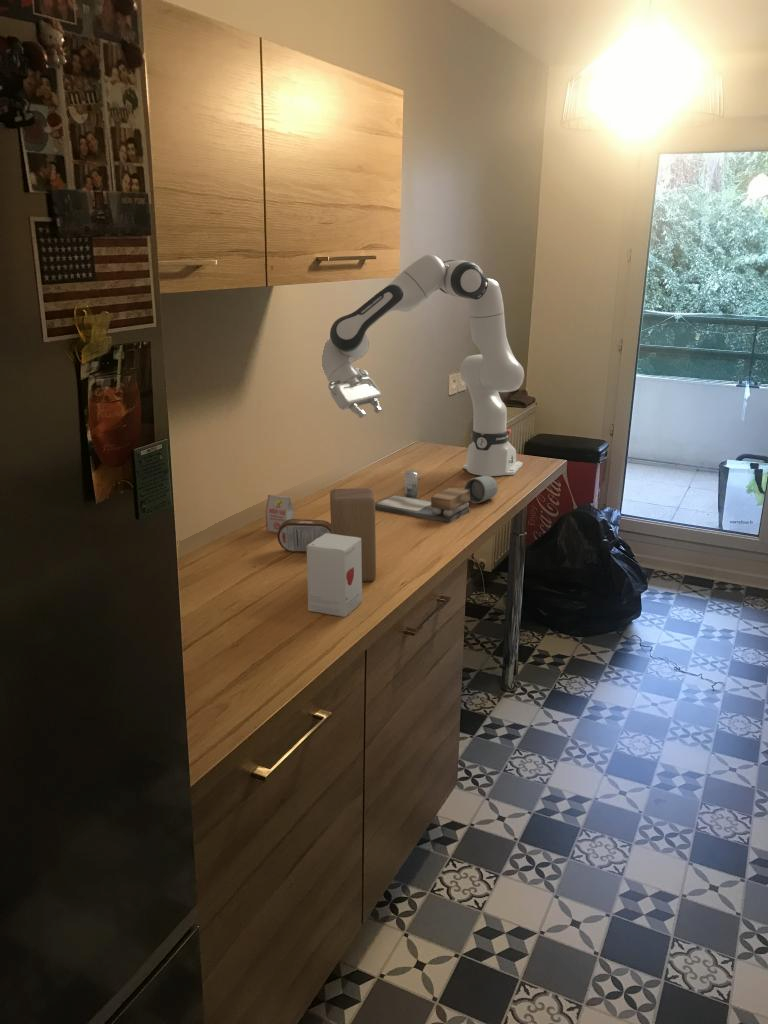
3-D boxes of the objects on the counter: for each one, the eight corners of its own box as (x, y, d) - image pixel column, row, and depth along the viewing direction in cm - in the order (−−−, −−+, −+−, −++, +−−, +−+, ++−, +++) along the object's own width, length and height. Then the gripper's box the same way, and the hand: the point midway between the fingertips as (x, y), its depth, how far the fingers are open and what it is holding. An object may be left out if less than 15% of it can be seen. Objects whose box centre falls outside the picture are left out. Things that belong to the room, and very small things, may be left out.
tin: (337, 550, 213) (336, 519, 210) (335, 554, 210) (335, 523, 207) (279, 549, 214) (278, 517, 212) (277, 553, 211) (275, 521, 209)
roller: (408, 494, 260) (408, 469, 257) (420, 496, 258) (420, 471, 255) (402, 497, 257) (402, 472, 254) (413, 499, 255) (413, 474, 252)
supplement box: (345, 618, 174) (343, 550, 169) (307, 611, 177) (304, 545, 173) (363, 602, 182) (362, 537, 177) (326, 595, 185) (324, 531, 180)
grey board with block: (393, 498, 256) (393, 477, 254) (469, 511, 243) (469, 489, 241) (371, 508, 246) (371, 487, 244) (449, 522, 233) (450, 500, 231)
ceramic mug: (499, 499, 254) (499, 474, 252) (484, 505, 248) (485, 480, 246) (470, 494, 261) (470, 470, 259) (455, 500, 255) (455, 475, 252)
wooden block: (332, 568, 201) (329, 488, 195) (373, 566, 202) (372, 486, 196) (332, 583, 192) (330, 500, 185) (376, 582, 192) (375, 499, 186)
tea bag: (274, 527, 230) (272, 492, 227) (294, 531, 227) (293, 495, 224) (266, 531, 227) (264, 496, 224) (287, 535, 224) (285, 499, 221)
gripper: (331, 376, 249) (359, 412, 246) (368, 369, 265) (394, 403, 263) (319, 390, 252) (346, 426, 250) (357, 382, 269) (382, 416, 267)
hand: (371, 414), depth 257 cm, fingers open, 8 cm apart
